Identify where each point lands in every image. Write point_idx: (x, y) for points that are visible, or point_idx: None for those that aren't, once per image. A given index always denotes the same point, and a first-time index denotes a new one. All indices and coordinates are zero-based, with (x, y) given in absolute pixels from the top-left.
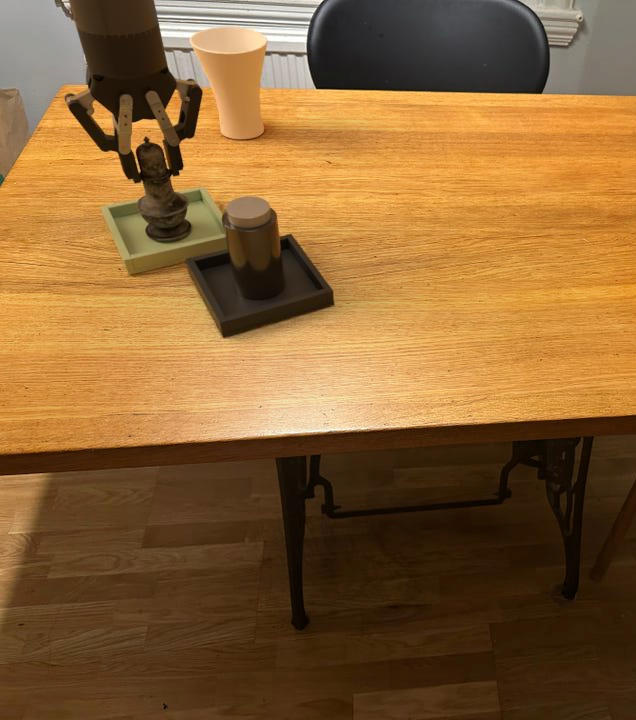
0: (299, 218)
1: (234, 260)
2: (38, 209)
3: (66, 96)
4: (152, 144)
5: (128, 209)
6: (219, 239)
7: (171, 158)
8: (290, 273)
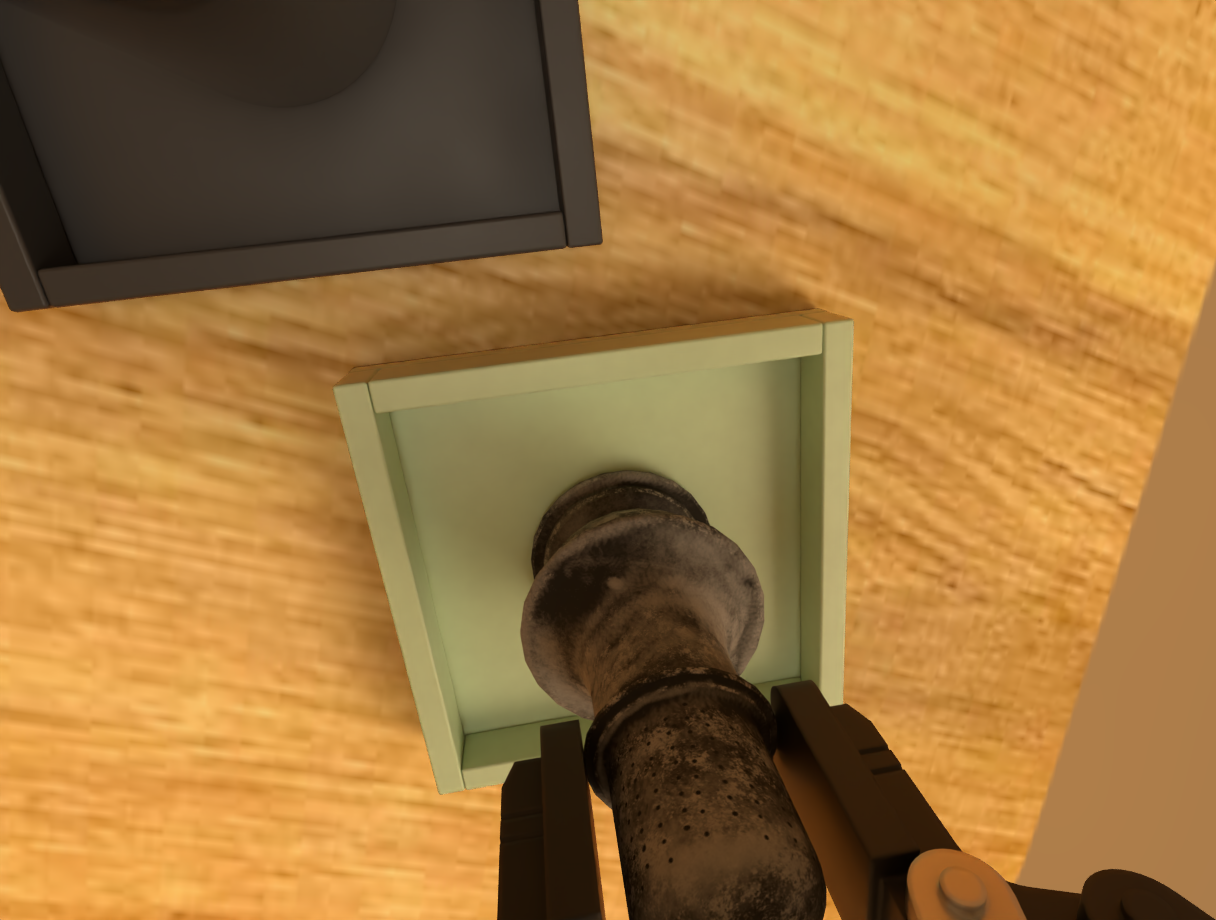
0: (34, 542)
1: None
2: (977, 773)
3: None
4: None
5: None
6: (418, 374)
7: (577, 826)
8: None
